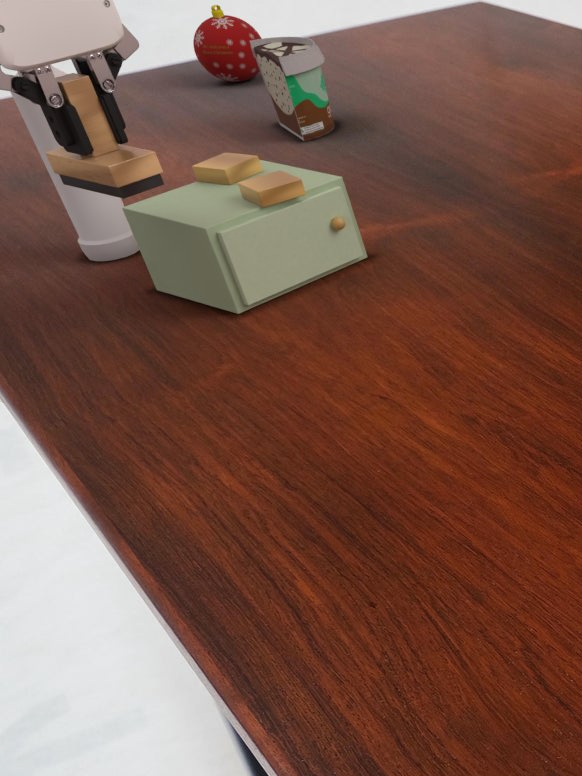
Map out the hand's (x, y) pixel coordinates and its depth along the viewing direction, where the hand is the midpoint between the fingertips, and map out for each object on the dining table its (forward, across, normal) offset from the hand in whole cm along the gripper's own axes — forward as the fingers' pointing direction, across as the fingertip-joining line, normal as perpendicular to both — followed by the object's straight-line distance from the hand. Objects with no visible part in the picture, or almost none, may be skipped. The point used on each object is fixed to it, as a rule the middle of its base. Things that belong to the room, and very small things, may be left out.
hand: (96, 145), depth 106 cm
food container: (+16, -43, -35) cm, 58 cm away
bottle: (+15, -7, -19) cm, 25 cm away
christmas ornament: (+15, -53, -64) cm, 85 cm away
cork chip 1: (+7, -12, -4) cm, 15 cm away
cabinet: (+15, -10, 0) cm, 18 cm away
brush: (+3, 0, 0) cm, 3 cm away
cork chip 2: (+7, -10, +5) cm, 14 cm away
